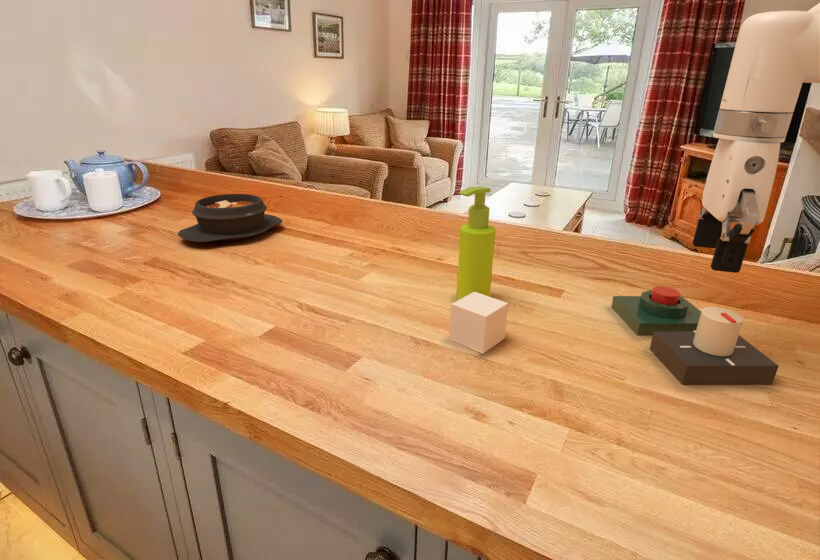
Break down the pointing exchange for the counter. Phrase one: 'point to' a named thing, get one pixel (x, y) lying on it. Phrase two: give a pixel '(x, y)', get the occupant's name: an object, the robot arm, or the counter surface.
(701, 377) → the dial panel
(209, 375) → the counter surface
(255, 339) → the counter surface
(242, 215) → the casserole
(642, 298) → the button base
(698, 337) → the lock knob
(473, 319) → the pale pink cube
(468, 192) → the soap dispenser
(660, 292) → the press top
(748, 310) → the counter surface
